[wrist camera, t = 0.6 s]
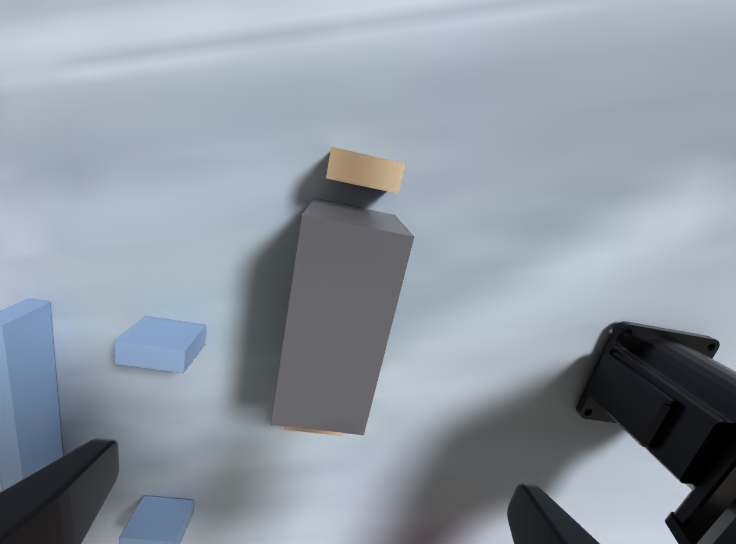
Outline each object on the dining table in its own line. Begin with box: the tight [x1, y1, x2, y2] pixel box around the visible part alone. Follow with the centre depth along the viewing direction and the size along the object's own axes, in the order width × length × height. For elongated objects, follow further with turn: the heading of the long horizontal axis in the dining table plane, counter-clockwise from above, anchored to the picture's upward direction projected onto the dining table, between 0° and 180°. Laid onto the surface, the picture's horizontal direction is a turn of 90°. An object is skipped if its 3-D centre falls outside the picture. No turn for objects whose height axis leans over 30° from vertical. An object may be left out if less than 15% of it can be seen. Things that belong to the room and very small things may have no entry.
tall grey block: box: [271, 199, 414, 435], centre depth 16 cm, size 4×9×5 cm, turn 168°
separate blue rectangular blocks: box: [0, 299, 206, 544], centre depth 18 cm, size 8×14×2 cm, turn 168°
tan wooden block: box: [284, 147, 406, 436], centre depth 17 cm, size 3×14×2 cm, turn 168°
